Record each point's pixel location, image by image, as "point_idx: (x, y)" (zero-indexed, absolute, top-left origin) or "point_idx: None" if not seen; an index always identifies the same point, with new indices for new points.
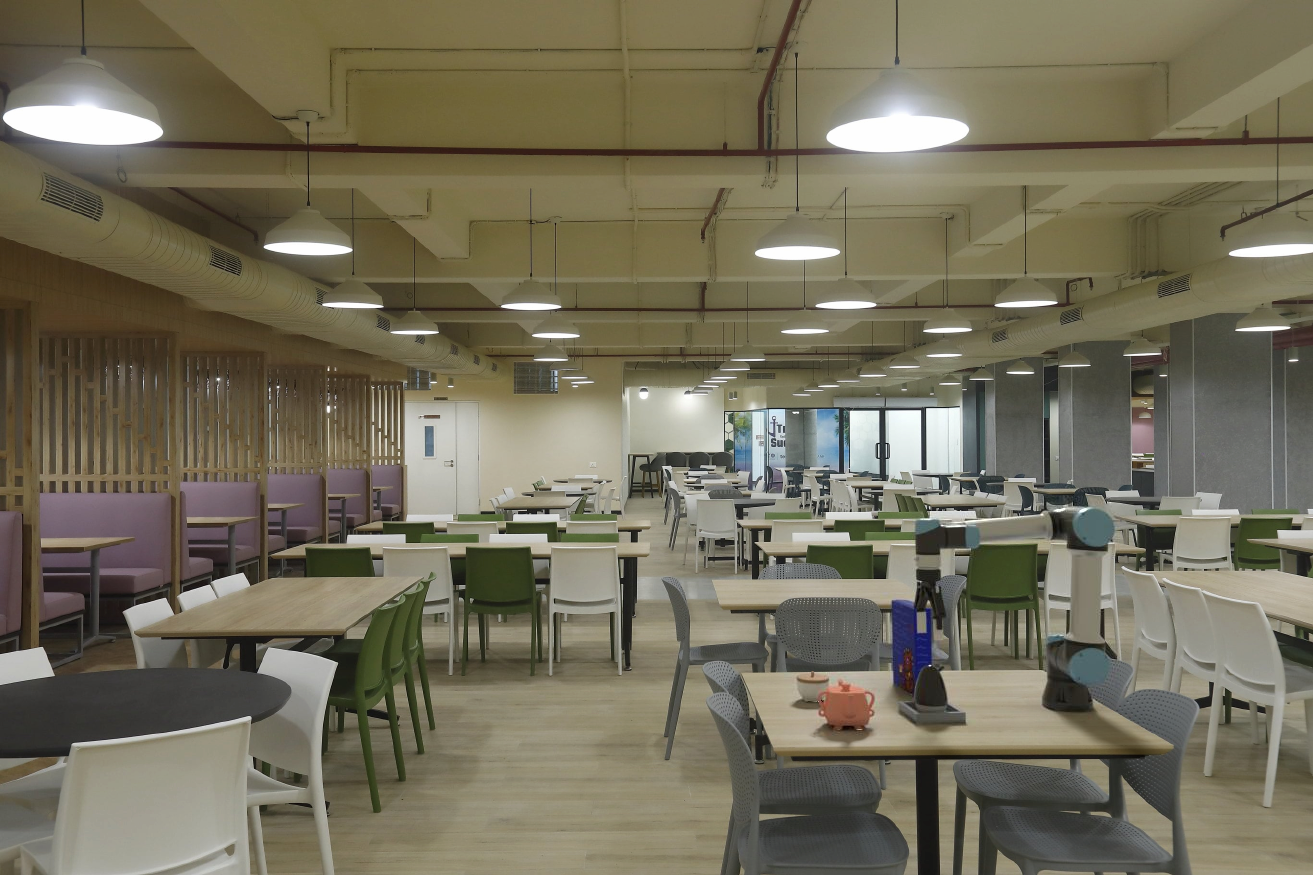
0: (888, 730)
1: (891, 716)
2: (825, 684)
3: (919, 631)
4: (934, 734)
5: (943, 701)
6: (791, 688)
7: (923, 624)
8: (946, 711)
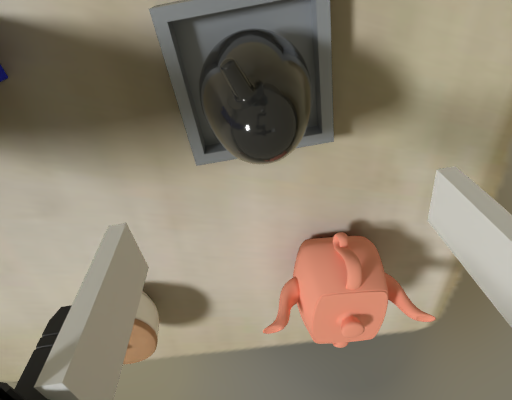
0: (370, 195)
1: (254, 176)
2: (140, 315)
3: (142, 267)
4: (423, 103)
5: (303, 58)
6: (41, 328)
7: (116, 285)
8: (216, 18)
